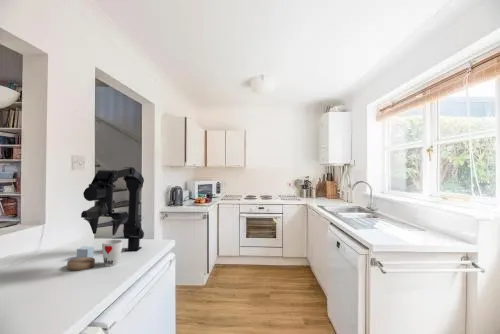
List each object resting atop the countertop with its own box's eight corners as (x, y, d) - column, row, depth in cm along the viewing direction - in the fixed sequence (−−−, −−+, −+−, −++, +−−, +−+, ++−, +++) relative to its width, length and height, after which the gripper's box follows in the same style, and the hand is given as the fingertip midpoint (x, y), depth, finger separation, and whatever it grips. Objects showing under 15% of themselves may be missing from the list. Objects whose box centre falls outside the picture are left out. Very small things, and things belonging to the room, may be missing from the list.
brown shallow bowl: (76, 262, 118) (77, 256, 118) (99, 263, 118) (99, 257, 118) (61, 270, 108) (61, 264, 108) (85, 271, 108) (85, 265, 108)
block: (83, 256, 127) (83, 246, 127) (93, 256, 127) (93, 246, 127) (76, 260, 122) (76, 249, 122) (87, 260, 122) (87, 249, 122)
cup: (97, 265, 116) (98, 242, 116) (114, 260, 123) (115, 238, 123) (108, 268, 112) (109, 245, 112) (125, 263, 119) (126, 241, 119)
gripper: (71, 199, 108) (69, 237, 108) (112, 201, 105) (111, 240, 105) (91, 196, 119) (90, 231, 119) (129, 198, 116) (128, 234, 116)
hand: (104, 234), depth 114 cm, fingers open, 9 cm apart
